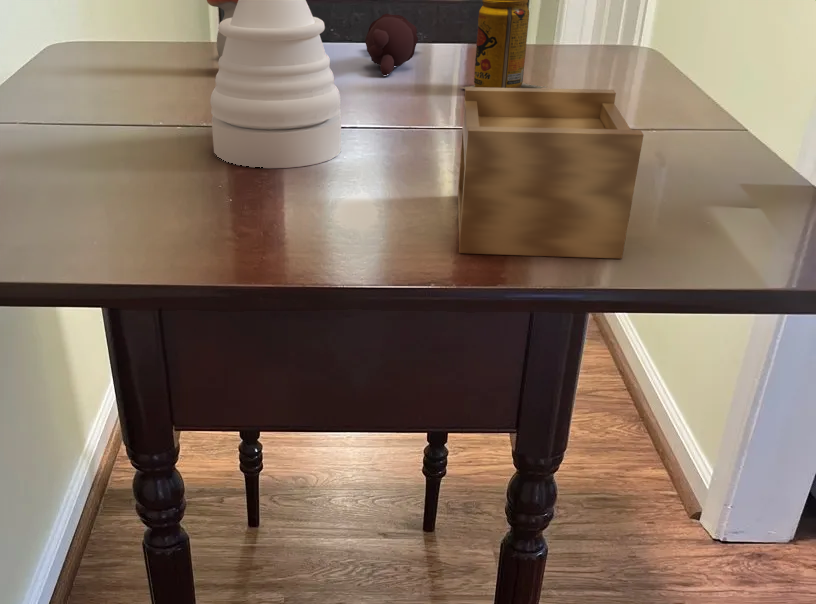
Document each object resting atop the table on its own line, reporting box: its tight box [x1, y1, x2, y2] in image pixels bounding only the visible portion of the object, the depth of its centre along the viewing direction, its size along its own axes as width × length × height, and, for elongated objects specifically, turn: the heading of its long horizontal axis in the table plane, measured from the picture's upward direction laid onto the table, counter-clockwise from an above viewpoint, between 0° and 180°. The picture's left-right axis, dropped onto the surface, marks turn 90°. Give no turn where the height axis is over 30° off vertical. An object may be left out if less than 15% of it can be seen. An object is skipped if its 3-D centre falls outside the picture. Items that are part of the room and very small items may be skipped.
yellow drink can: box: [459, 0, 547, 90], centre depth 113 cm, size 7×8×12 cm
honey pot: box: [209, 0, 342, 169], centre depth 88 cm, size 13×13×18 cm
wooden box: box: [457, 86, 645, 260], centre depth 72 cm, size 12×14×9 cm
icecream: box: [364, 13, 419, 76], centre depth 126 cm, size 7×7×15 cm
